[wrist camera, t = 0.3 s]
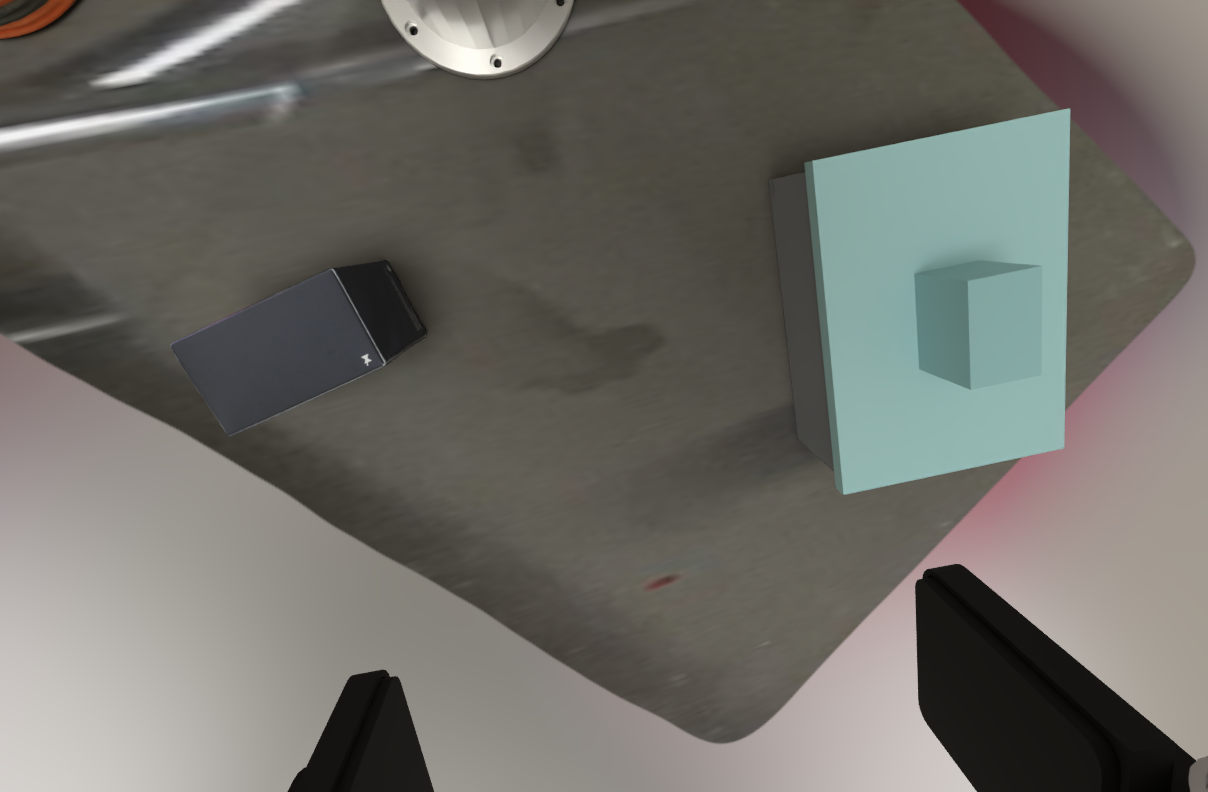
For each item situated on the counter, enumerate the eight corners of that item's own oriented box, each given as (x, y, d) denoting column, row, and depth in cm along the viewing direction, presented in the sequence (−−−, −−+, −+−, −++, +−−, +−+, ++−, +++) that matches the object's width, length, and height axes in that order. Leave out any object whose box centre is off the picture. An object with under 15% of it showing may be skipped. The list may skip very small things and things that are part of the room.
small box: (385, 252, 43) (332, 260, 33) (430, 335, 45) (392, 367, 35) (253, 315, 43) (160, 342, 33) (302, 394, 45) (229, 443, 35)
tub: (768, 180, 43) (813, 170, 36) (959, 140, 44) (1045, 122, 36) (797, 439, 49) (842, 479, 41) (967, 403, 49) (1042, 436, 41)
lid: (804, 162, 36) (853, 150, 30) (1053, 112, 36) (1152, 89, 30) (835, 487, 41) (882, 531, 35) (1050, 442, 42) (1132, 478, 36)
